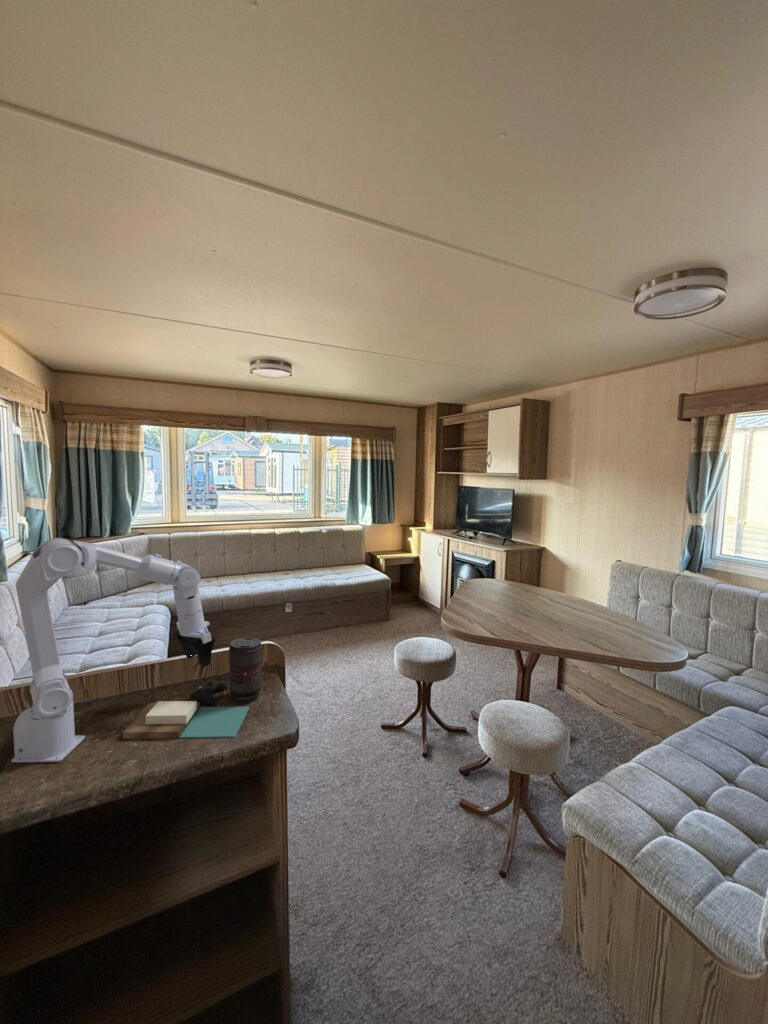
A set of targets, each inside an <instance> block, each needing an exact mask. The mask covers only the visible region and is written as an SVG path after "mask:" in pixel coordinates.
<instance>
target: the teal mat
mask: <svg viewBox="0 0 768 1024" xmlns="http://www.w3.org/2000/svg"><path fill="white" fill-rule="evenodd" d="M249 709H250V706H200V708H199V710H198V711H197V713H196V714H195V716H194V717H193V718H192V720H191V721H190V723H189V724H188V726H187V727H186V729H185V730H184V731H183V733H182V734H181V736H180V737H179V739H206V738H207V739H216V738H217V739H223V738H226V739H231V738H232V739H233V738H236V737H237V735H238V732H239V730H240V728H241V726H242V724H243V722H244V721H245V718H246V716H247V714H248V712H249Z"/></svg>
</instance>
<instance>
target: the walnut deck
mask: <svg viewBox="0 0 768 1024" xmlns="http://www.w3.org/2000/svg"><path fill="white" fill-rule="evenodd" d="M156 704H157V702H149V703H148V704H147V705H146V706H145V708H144V709H143V710H142V711H141V712H140V713H139V714H138V715H137V716H136V717H135V718H134V719H133V720H132V721H131V722H130V724H129V725H128V726H127V727H126V728H124V730H123V731H122V733H121V734H122V739H123V740H134V739H136V740H137V739H138V740H142V739H143V740H144V739H147V740H148V739H156V740H157V739H180V736H181V734H182V733H183V731H184V730H185V729H186V727H187V726H188V724H189V723H190V721H191V720H192V718H193V717H194V716H195V714H196V713H197V711H198V710H199V708H200V707H201V706H200V705H201V704H200V702H197V710H196V711H195V713H194V714H193V715H192V717H191V718H190V720H189V721H188V722H187V724H146V715H147V714H148V713H149V711H150V710H151V709H152V708H153V707H154V706H155V705H156Z"/></svg>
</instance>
